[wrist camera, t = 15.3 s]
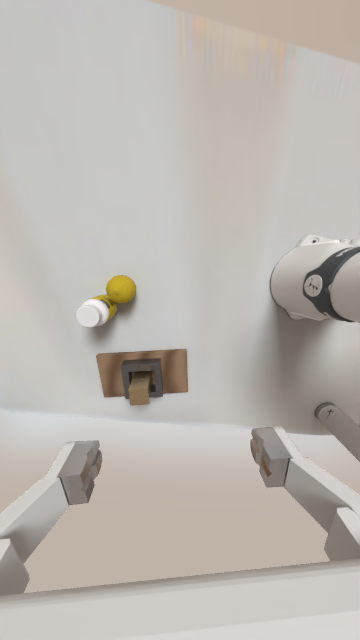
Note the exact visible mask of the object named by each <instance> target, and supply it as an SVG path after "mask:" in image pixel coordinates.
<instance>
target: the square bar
mask: <svg viewBox="0 0 360 640" xmlns="http://www.w3.org/2000/svg"><path fill="white" fill-rule="evenodd" d="M152 385H153V375H152V371H137V372H134V375H133V378H132V381H131V383H130V386H129V389H128V391H129V398H130V405H144V404H150V397H151V391H152Z"/></svg>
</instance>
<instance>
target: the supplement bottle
mask: <svg viewBox="0 0 360 640" xmlns="http://www.w3.org/2000/svg"><path fill="white" fill-rule="evenodd" d="M117 311H118V303H117V302H114V301H113V300H111V299H110V298H109V296H108V295H100V296H97V297H94V298H92V299H89V300H87V301H85V302H84V303H83V304H82V305H81V307H80V308H79V309H78V310H77V312H76V318H77V321H78V322H79V323H80V324H81V325H82V326H84V327H94V326H101V325H103V324H104V323H106V322H107V321H108V320H109V319H111V318H112V317H113V316H114V315H115V314H116V313H117Z"/></svg>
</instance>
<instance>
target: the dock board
mask: <svg viewBox="0 0 360 640" xmlns="http://www.w3.org/2000/svg"><path fill="white" fill-rule="evenodd" d="M96 358H97V363H98V368H99V373H100V378H101V383H102V388H103V393H104V397H115V396H125V391H124V385H123V378H122V371H121V365H122V363H123V361H124V360H135V359H152V358H161V367H162V380H163V393H177V392H188V378H187V350H186V349H175V350H157V351H139V352H121V353H103V354H98V355H97V356H96ZM133 375H134V372H132V376H133ZM152 375H153V384H155V375H154V370H153V371H152Z"/></svg>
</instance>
